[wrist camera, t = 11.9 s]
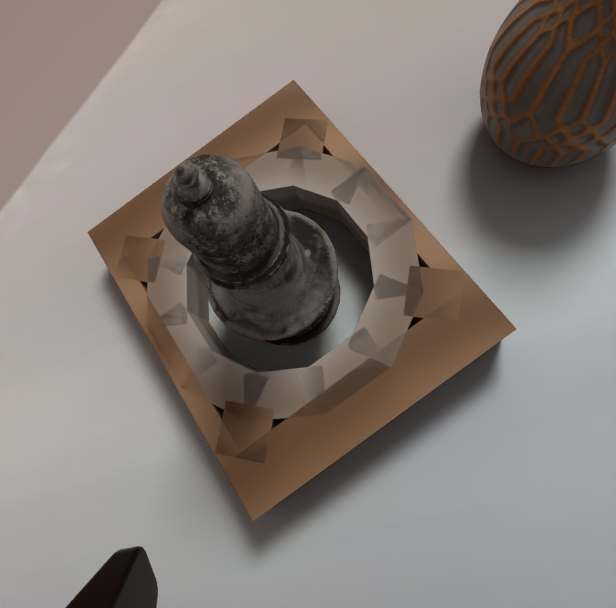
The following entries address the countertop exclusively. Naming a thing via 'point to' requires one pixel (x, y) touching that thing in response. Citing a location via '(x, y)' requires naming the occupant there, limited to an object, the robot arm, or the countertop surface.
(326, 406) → the bore block
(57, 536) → the countertop surface
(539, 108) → the vase
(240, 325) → the grey chess piece
